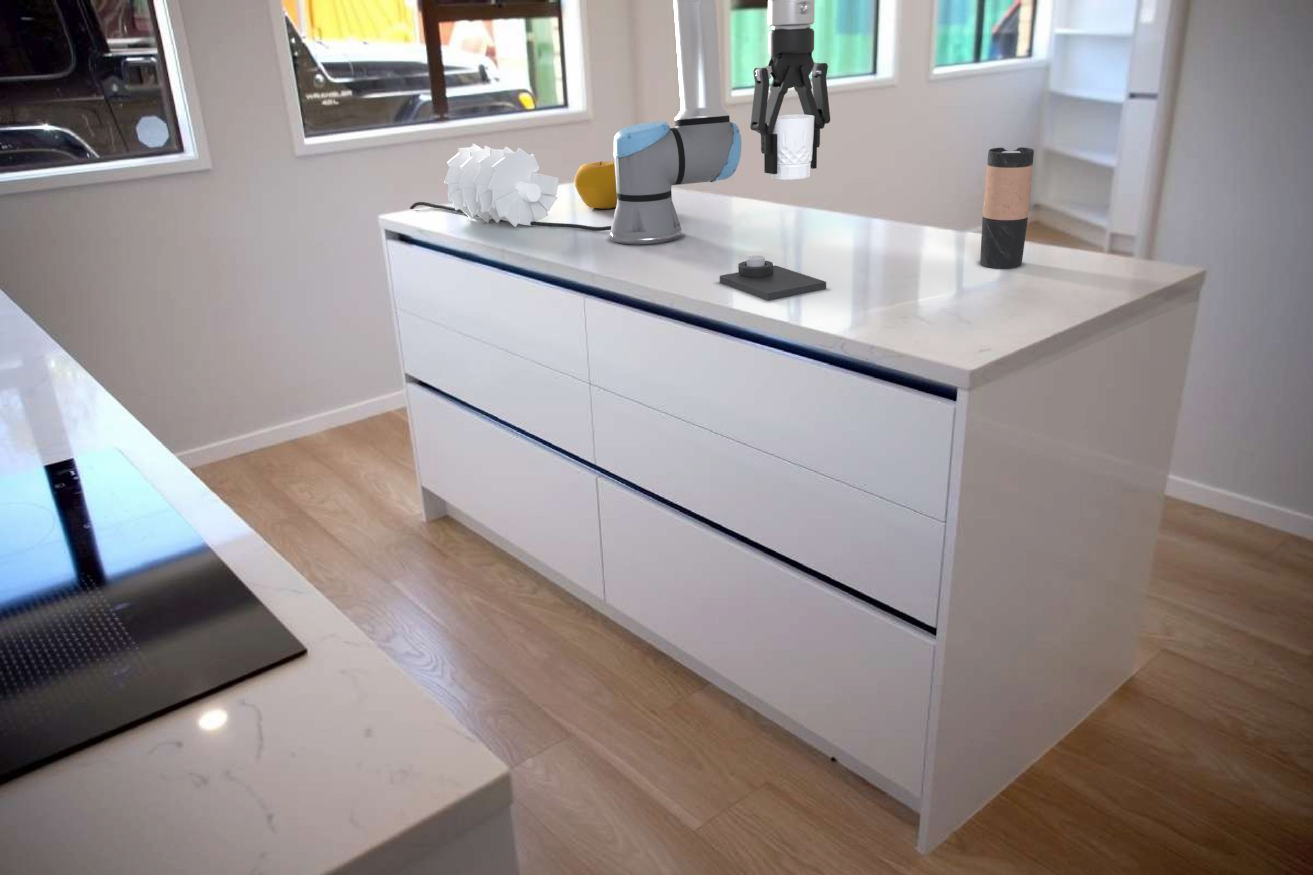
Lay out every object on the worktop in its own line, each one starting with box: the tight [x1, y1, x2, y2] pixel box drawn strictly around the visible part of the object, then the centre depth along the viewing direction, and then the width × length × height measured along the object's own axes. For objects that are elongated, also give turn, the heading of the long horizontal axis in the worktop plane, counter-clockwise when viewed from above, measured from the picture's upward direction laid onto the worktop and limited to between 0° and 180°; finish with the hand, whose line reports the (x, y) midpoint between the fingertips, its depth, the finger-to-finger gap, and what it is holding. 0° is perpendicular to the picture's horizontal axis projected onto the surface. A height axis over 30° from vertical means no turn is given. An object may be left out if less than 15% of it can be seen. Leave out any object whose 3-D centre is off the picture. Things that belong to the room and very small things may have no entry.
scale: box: [719, 260, 827, 302], centre depth 173 cm, size 16×12×3 cm
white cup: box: [770, 114, 815, 181], centre depth 170 cm, size 8×8×10 cm
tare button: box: [746, 255, 766, 267], centre depth 176 cm, size 3×3×2 cm
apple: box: [573, 160, 617, 210], centre depth 247 cm, size 13×13×11 cm
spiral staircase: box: [443, 142, 560, 228], centre depth 235 cm, size 18×18×25 cm
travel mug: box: [979, 146, 1035, 270], centre depth 176 cm, size 8×8×20 cm
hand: (790, 170), depth 172 cm, fingers closed on white cup, 8 cm apart
